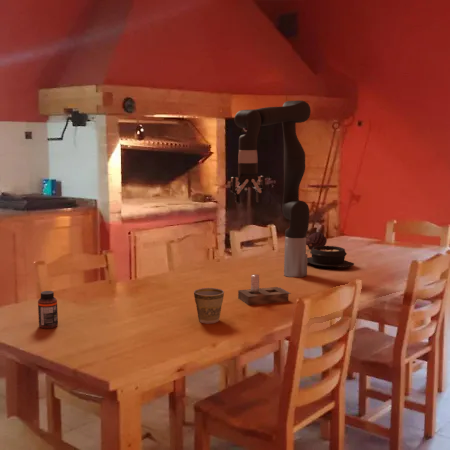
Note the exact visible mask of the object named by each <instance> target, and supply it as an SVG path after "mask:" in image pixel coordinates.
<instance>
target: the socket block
mask: <svg viewBox="0 0 450 450" xmlns="http://www.w3.org/2000/svg"><path fill="white" fill-rule="evenodd" d="M280 288H281V287H278V286H273V287H270V286H269V287H261V288H260V287H259V294H251V288H250V289H247V288H246V289H238V290H237V294H238V295H237V296H238V297H237V298H238V300H240V301H241V302H242V303H244V304H246V305H247V306H255V305H267V304H276V303H278V304H279V303H288V302H289V295H290V294H289V293H290V292H289V293H287V292H288V291H287V292H285V291H286V290H285V289H284V290H285V291H284V290H282V289H283V288H282V289H280Z"/></svg>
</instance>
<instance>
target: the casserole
mask: <svg viewBox="0 0 450 450" xmlns="http://www.w3.org/2000/svg"><path fill="white" fill-rule="evenodd" d="M347 254H348V253H347V252H346V249H345V248H343V247H339V246H335V245H325V246H317V247H313V248H312V250H310V255H311V257H307V264H311V265H314V266H315V267H318V268H323V269H337V268H348V267H353V266H354V265H355V263H354V262H352V261H348V260H345V257H346V255H347Z"/></svg>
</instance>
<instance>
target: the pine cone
mask: <svg viewBox="0 0 450 450" xmlns="http://www.w3.org/2000/svg"><path fill="white" fill-rule="evenodd" d="M327 241H328V239H327V237H326V236H325V235H324V233H322V232H319V231H318V232H314V233H311V234H310V235H309V236H308V237H306V246H307V247H308V251H312V248H313V247H317V246H327V245H326V244H327Z"/></svg>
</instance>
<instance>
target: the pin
mask: <svg viewBox="0 0 450 450" xmlns="http://www.w3.org/2000/svg"><path fill="white" fill-rule="evenodd" d="M259 288H260V274H251V275H250V289H251V294H259Z"/></svg>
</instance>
